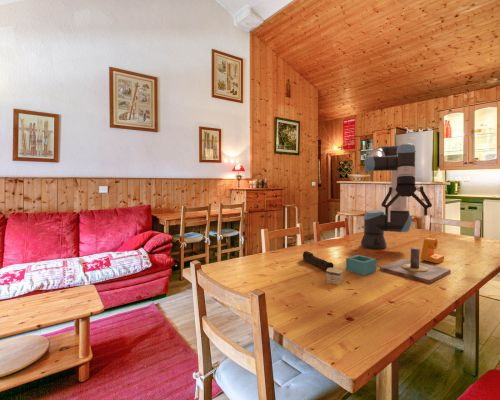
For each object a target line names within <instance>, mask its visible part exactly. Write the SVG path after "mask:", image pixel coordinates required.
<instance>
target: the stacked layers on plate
mask: <svg viewBox="0 0 500 400" xmlns="http://www.w3.org/2000/svg"><path fill="white" fill-rule="evenodd" d="M326 271H327V272H326ZM326 271H325V274H326V278H325V279H326V283H327V284H334V285H337V286H339V285H341V284H342V283H343V280H344V278H343V275H344V273H343V272H344V271H343V270H341V269H339V268H335V267H333V268H327V270H326Z"/></svg>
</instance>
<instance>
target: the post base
mask: <svg viewBox="0 0 500 400" xmlns="http://www.w3.org/2000/svg"><path fill="white" fill-rule="evenodd" d="M420 252H421V251H420V248H416V247H411V248H410V260H409V259H405V258H401V259H398V260H395V261H391V262H390V263H387V264H385V265H382V266H379V271H382V272H386V273H389V274H393V275H396V276H399V277H403V278H409V279H411V280H415V279H416V280H415V281H418V280H419V282H422V281H423V283H426V284H432V283H433V282H436V281H439V280H440V279H441V278H443V277H445V276H447V275H449V274H452V273H451V269H450V268H445V267H440V266H436V265H432V264H428V263H423V262H420V256H421V254H420Z"/></svg>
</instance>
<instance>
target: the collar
mask: <svg viewBox="0 0 500 400" xmlns="http://www.w3.org/2000/svg"><path fill="white" fill-rule="evenodd" d="M345 271H348V272H350V273H354V274H358V275H361V276H368V275H370V274H372V273H375V272H377V258H373V257H369V256H365V255H361V254H356V255H353V256H349V257H346V258H345Z"/></svg>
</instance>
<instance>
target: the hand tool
mask: <svg viewBox="0 0 500 400" xmlns="http://www.w3.org/2000/svg"><path fill="white" fill-rule="evenodd" d="M302 258H303V261H305V262H306V263H307V264H312V265H313V266H317V267H318V268H320V269H323V270H324V271H325V273H327V271H326V270H327V268H334V265H335V264H334V263H333V262H330V261H327V260H326V259H324V258H323V259H322V258H319V257H317V256H315V255H314V253H312V252H309V251H308V250H307V251H306V250H305V251H303V253H302Z"/></svg>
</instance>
